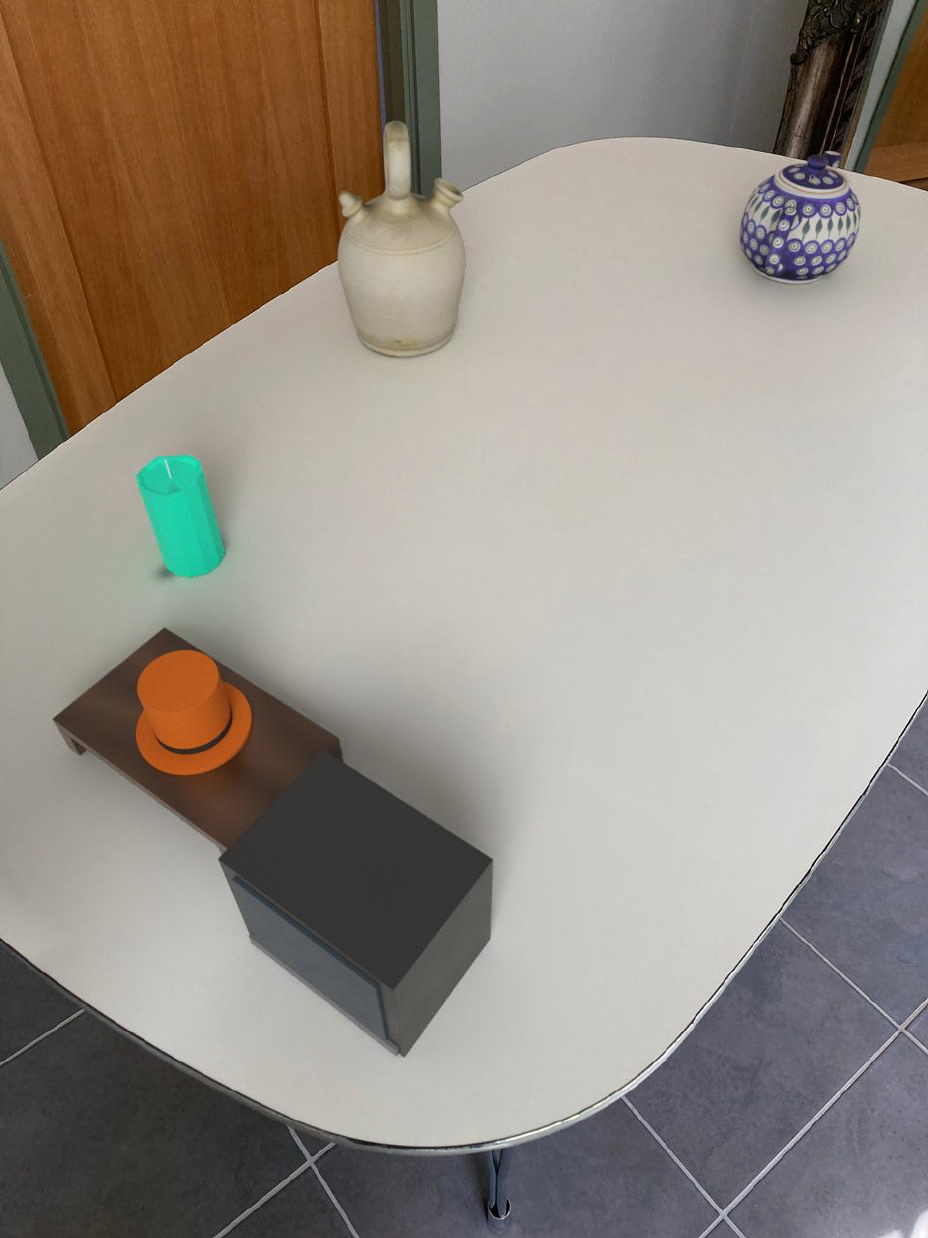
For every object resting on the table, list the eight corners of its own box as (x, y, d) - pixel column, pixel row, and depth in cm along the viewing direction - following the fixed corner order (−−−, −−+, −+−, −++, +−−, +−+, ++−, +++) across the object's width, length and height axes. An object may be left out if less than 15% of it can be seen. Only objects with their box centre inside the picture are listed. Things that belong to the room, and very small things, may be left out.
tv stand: (240, 876, 72) (230, 851, 69) (67, 746, 79) (51, 718, 76) (344, 766, 78) (339, 738, 75) (175, 655, 86) (164, 626, 83)
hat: (193, 795, 72) (174, 751, 67) (113, 737, 75) (90, 691, 71) (275, 716, 77) (263, 669, 72) (197, 665, 80) (180, 617, 76)
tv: (401, 1062, 63) (389, 995, 54) (247, 941, 68) (213, 862, 59) (490, 938, 68) (493, 859, 59) (341, 836, 74) (323, 749, 65)
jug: (474, 302, 125) (474, 98, 107) (456, 370, 115) (453, 157, 96) (360, 294, 127) (340, 92, 108) (332, 360, 117) (305, 149, 98)
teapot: (811, 324, 121) (845, 209, 110) (701, 292, 127) (723, 179, 116) (869, 242, 135) (904, 133, 124) (768, 216, 141) (793, 109, 130)
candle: (237, 545, 95) (212, 449, 86) (202, 584, 92) (172, 489, 83) (187, 528, 97) (158, 432, 88) (151, 566, 93) (117, 470, 84)
